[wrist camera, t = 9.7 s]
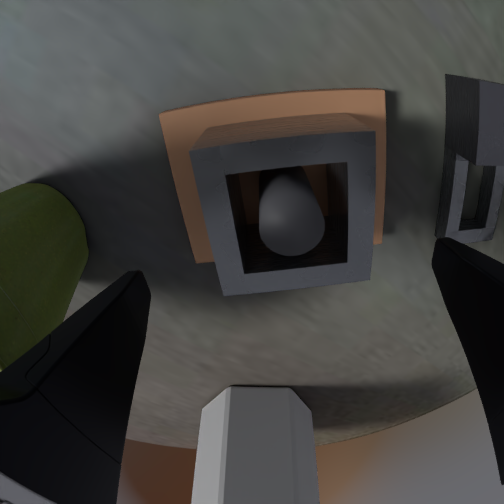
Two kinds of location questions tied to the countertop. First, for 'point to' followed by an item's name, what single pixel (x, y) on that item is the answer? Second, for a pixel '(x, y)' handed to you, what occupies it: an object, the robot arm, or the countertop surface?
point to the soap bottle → (256, 449)
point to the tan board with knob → (273, 180)
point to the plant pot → (36, 265)
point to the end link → (279, 156)
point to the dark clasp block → (472, 157)
